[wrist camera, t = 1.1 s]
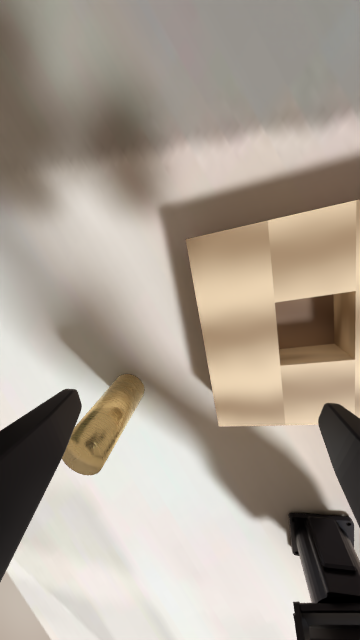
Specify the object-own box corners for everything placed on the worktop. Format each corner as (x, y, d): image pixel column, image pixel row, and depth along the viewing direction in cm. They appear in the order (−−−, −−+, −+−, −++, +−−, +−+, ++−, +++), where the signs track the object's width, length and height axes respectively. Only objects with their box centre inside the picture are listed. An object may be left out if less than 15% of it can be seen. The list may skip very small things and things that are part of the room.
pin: (147, 400, 25) (108, 476, 16) (119, 402, 25) (68, 474, 17) (140, 372, 24) (94, 436, 15) (111, 375, 25) (53, 437, 16)
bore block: (399, 389, 19) (443, 422, 15) (219, 398, 23) (218, 426, 19) (412, 193, 15) (474, 172, 11) (192, 242, 19) (185, 239, 15)
